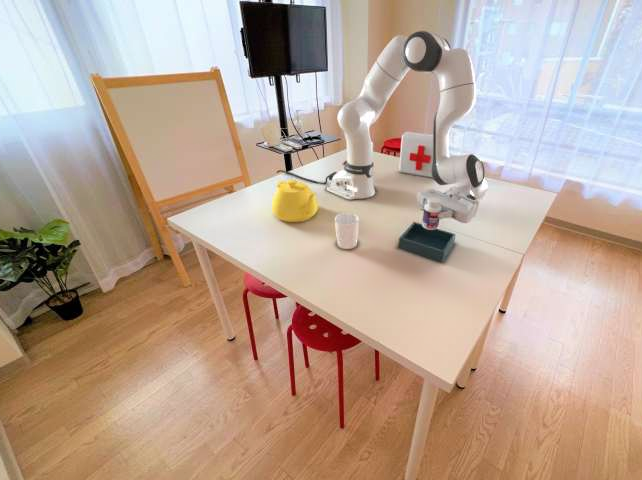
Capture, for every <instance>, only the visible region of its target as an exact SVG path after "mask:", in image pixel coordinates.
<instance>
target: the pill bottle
mask: <svg viewBox="0 0 642 480" xmlns="http://www.w3.org/2000/svg"><path fill="white" fill-rule="evenodd" d="M439 212H441V206H440V199H439V198H436V197H430V198H428V201H427V204H426V205H425V207H424V211H423V215H422V220H421V224H422V226H423V227H424V228H425V229H428V230H435V229H439V224H440V219H439V218H437V216H438V213H439Z"/></svg>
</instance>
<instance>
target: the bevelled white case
mask: <svg viewBox="0 0 642 480" xmlns="http://www.w3.org/2000/svg"><path fill="white" fill-rule="evenodd" d="M432 163H433V134H428V133H423V132H422V133H421V132H415V131H405V132H404V133H403V134H401V139H400V153H399V164H398V171H399V173H401V174H406V175H412V176H419V177H424V178H429V179H433V177H432V173H431V170H432Z"/></svg>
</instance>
